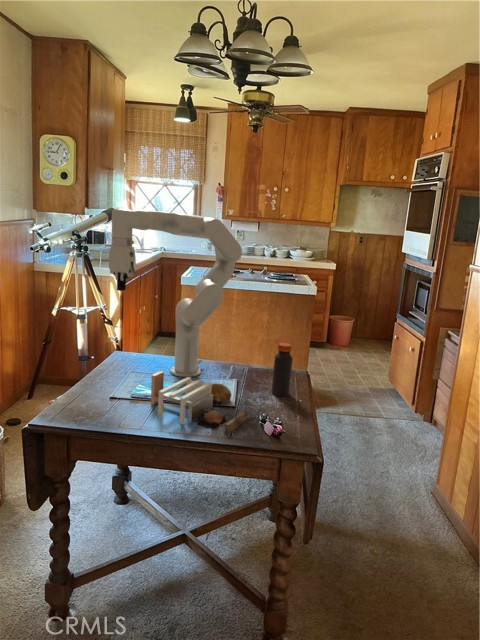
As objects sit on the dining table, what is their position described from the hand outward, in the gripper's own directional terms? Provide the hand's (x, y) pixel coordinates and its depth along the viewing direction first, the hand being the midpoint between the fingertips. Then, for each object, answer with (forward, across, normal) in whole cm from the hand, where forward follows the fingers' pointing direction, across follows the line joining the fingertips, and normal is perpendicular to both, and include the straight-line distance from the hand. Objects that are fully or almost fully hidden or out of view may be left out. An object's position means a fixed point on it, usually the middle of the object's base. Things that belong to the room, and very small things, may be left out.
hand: (121, 290), depth 183 cm
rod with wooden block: (+35, -37, +12) cm, 52 cm away
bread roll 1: (+36, -44, -3) cm, 56 cm away
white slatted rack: (+35, -40, +12) cm, 55 cm away
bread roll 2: (+36, -51, +13) cm, 64 cm away
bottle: (+35, -60, -24) cm, 74 cm away
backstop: (+35, -60, +11) cm, 70 cm away
